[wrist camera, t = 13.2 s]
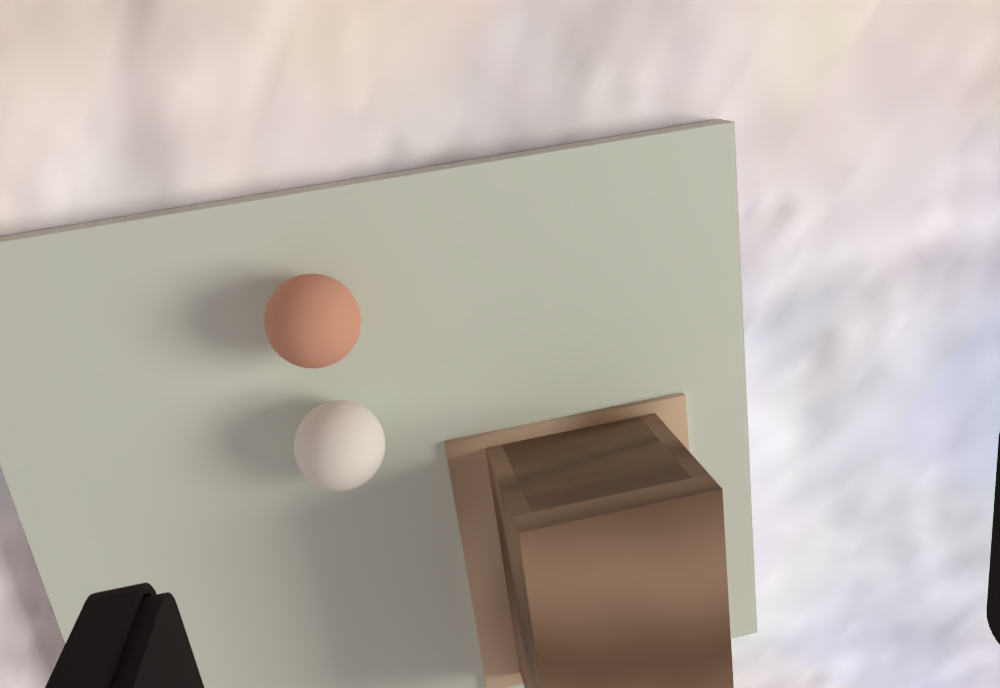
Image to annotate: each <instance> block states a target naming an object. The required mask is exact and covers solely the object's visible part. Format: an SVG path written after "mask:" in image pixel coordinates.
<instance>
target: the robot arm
mask: <svg viewBox="0 0 1000 688" xmlns="http://www.w3.org/2000/svg"><path fill="white" fill-rule="evenodd" d="M987 619H988V623H989V627H990V629H991V631H992V634H993V635H994V637H995V639H996V640H997V642H998V643H999V644H1000V433H999V444H998V458H997V472H996V486H995V500H994V514H993V528H992V542H991V556H990V570H989V584H988V598H987ZM45 688H204V685H203V682H202V679H201V676H200V673H199V670H198V667H197V664H196V660H195V657H194V654H193V651H192V648H191V645H190V642H189V639H188V636H187V633H186V630H185V627H184V624H183V621H182V618H181V615H180V612H179V609H178V606H177V603H176V601H175V598H174V597H173V595H172V594H171V593H169V592H166V593H161V594H156V591H155V590H154V588H153V587H152V586H151V584H149V583H147V582H146V583H141V584H136V585H131V586H126V587H121V588H116V589H111V590H106V591H101V592H96V593H93V594H91V595H89V597H88V598H87V599H86V601H85V603H84V605H83V607H82V609H81V612H80V614H79V616H78V618H77V620H76V622H75V625H74V627H73V629H72V631H71V633H70V635H69V638H68V640H67V642H66V644H65V646H64V648H63V651H62V653H61V655H60V657H59V659H58V661H57V664H56V666H55V668H54V670H53V672H52V674H51V676H50V679H49V681H48V683H47V685H46V687H45Z"/></svg>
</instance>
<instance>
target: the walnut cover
mask: <svg viewBox="0 0 1000 688" xmlns="http://www.w3.org/2000/svg"><path fill="white" fill-rule="evenodd" d="M485 449H486V455H487V462H488V468H489V475H490V481H491V488H492V494H493V501H494V507H495V514H496V520H497V527H498V533H499V539H500V546H501V552H502V559H503V565H504V572H505V578H506V585H507V591H508V598H509V604H510V611H511V617H512V623H513V630H514V636H515V643H516V649H517V656H518V662H519V669H520V674H521V677H522V681H523V684H524V687H525V688H733V670H732V652H731V634H730V616H729V598H728V580H727V562H726V543H725V525H724V507H723V489H722V488H721V487H720V486H719V484H718V483H717V482H716V481H715V480H714V479H713V478H712V477H711V475H710V474H709V473H708V472H707V471H706V470H705V469H704V468H703V466H702V465H701V464H700V463H699V462H698V461H697V460H696V459H695V457H694V456H693V455H692V454H691V453H690V452H689V451H688V450H687V448H686V447H685V446H684V445H683V444H682V443H681V442H680V440H679V439H678V438H677V437H676V436H675V435H674V434H673V433H672V431H671V430H670V429H669V428H668V427H667V426H666V425H665V424H664V422H663V421H662V420H661V419H660V418H659V417H658V416H657V415H656V413H654V414H649V415H644V416H639V417H634V418H629V419H625V420H620V421H615V422H610V423H605V424H600V425H595V426H590V427H585V428H580V429H576V430H571V431H566V432H561V433H556V434H551V435H546V436H541V437H536V438H531V439H526V440H522V441H517V442H512V443H507V444H502V445H497V446H492V447H487V448H485Z"/></svg>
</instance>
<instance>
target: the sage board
mask: <svg viewBox="0 0 1000 688" xmlns="http://www.w3.org/2000/svg"><path fill="white" fill-rule="evenodd" d="M303 274H322V275H326V276H329V277H332V278H334V279H336V280H337V281H339V282H341V283H342V284H343V285H345V286H346V287H347V288H348V289H349V290H350V292H351V293H352V294H353V296H354V298H355V299H356V301H357V304H358V306H359V310H360V315H361V327H360V333H359V336H358V339H357V341H356V343H355V345H354V346H353V348H352V349H351V351H350V352H349V353H348V354H347V355H346V356H345V357H344V358H342V359H341V360H340V361H338V362H336V363H334V364H332V365H329V366H326V367H322V368H303V367H299V366H296V365H294V364H291V363H289V362H287V361H286V360H284V359H283V358H282V357H281V356H279V355H278V354H277V353H276V351H275V350H274V349H273V347H272V346H271V344H270V343H269V340H268V338H267V336H266V332H265V327H264V315H265V309H266V306H267V303H268V301H269V299H270V297H271V296H272V294H273V293H274V291H275V290H276V289H277V288H278V287H279V286H280V285H281V284H283V283H284V282H285V281H287V280H289V279H291V278H293V277H296V276H298V275H303ZM682 392H683V393H684V394H685V396H686V410H687V424H688V439H689V452H690V453H691V454H692V455H693V456H694V457H695V459H696V460H697V461H698V462H699V463H700V464H701V465H702V466H703V468H704V469H705V470H706V471H707V472H708V473H709V474H710V475H711V477H712V478H713V479H714V480H715V481H716V482H717V483H718V484H719V486H720V487H721V488H722V489H723V507H724V525H725V543H726V562H727V580H728V598H729V616H730V634H731V638H735V637H739V636H744V635H748V634H752V633H756V632H757V619H756V597H755V574H754V552H753V529H752V507H751V484H750V462H749V440H748V417H747V395H746V372H745V350H744V327H743V305H742V282H741V260H740V238H739V215H738V193H737V170H736V148H735V125H734V122H733V121H727V120H722V119H717V120H711V121H705V122H699V123H693V124H686V125H680V126H674V127H668V128H662V129H656V130H650V131H644V132H637V133H631V134H625V135H619V136H613V137H607V138H601V139H595V140H588V141H582V142H576V143H570V144H564V145H558V146H552V147H546V148H539V149H533V150H527V151H521V152H515V153H509V154H503V155H497V156H490V157H484V158H478V159H472V160H466V161H460V162H454V163H448V164H441V165H435V166H429V167H423V168H417V169H411V170H405V171H399V172H392V173H386V174H380V175H374V176H368V177H362V178H356V179H350V180H343V181H337V182H331V183H325V184H319V185H313V186H307V187H301V188H294V189H288V190H282V191H276V192H270V193H264V194H258V195H252V196H245V197H239V198H233V199H227V200H221V201H215V202H209V203H203V204H196V205H190V206H184V207H178V208H172V209H166V210H160V211H154V212H147V213H141V214H135V215H129V216H123V217H117V218H111V219H105V220H98V221H92V222H86V223H80V224H74V225H68V226H62V227H56V228H49V229H43V230H37V231H31V232H25V233H19V234H13V235H7V236H0V466H1V469H2V472H3V475H4V477H5V480H6V483H7V486H8V488H9V491H10V494H11V497H12V499H13V502H14V505H15V508H16V510H17V513H18V516H19V519H20V521H21V524H22V527H23V530H24V532H25V535H26V538H27V541H28V543H29V546H30V549H31V551H32V554H33V557H34V560H35V562H36V565H37V568H38V571H39V573H40V576H41V579H42V582H43V584H44V587H45V590H46V593H47V595H48V598H49V601H50V604H51V606H52V609H53V612H54V615H55V617H56V620H57V623H58V626H59V628H60V631H61V634H62V637H63V639H64V642H65V644H66V642H67V640H68V638H69V635H70V633H71V631H72V629H73V627H74V625H75V622H76V620H77V618H78V616H79V614H80V612H81V609H82V607H83V605H84V603H85V601H86V599H87V598H88V597H89V595H91V594H93V593H96V592H101V591H106V590H111V589H116V588H121V587H126V586H131V585H136V584H141V583H146V582H147V583H149V584H151V586H152V587H153V588H154V590H155V591H156V594H161V593H166V592H169V593H171V594H172V595H173V597H174V598H175V601H176V603H177V606H178V609H179V612H180V615H181V618H182V621H183V624H184V627H185V630H186V633H187V636H188V639H189V642H190V645H191V648H192V651H193V654H194V657H195V660H196V664H197V667H198V670H199V673H200V676H201V679H202V682H203V685H204V688H487V686H486V680H485V675H484V669H483V663H482V657H481V651H480V646H479V640H478V634H477V628H476V623H475V617H474V611H473V605H472V600H471V594H470V588H469V582H468V576H467V571H466V565H465V559H464V553H463V548H462V542H461V536H460V530H459V524H458V519H457V513H456V507H455V501H454V496H453V490H452V484H451V478H450V472H449V467H448V461H447V455H446V449H445V444H444V441H445V440H450V439H455V438H460V437H465V436H470V435H475V434H480V433H485V432H490V431H495V430H500V429H504V428H509V427H514V426H519V425H524V424H529V423H534V422H539V421H544V420H549V419H554V418H559V417H564V416H569V415H573V414H578V413H583V412H588V411H593V410H598V409H603V408H608V407H613V406H618V405H623V404H628V403H633V402H638V401H642V400H647V399H652V398H657V397H662V396H667V395H672V394H677V393H682ZM336 400H345V401H351V402H355V403H357V404H360V405H362V406H363V407H365V408H367V409H368V410H369V411H370V412H372V413H373V414H374V416H375V417H376V418H377V419H378V421H379V423H380V424H381V426H382V429H383V432H384V436H385V454H384V458H383V461H382V463H381V465H380V467H379V469H378V470H377V472H376V473H375V474H374V475H373V477H372V478H371V479H369V480H368V481H367V482H366V483H364V484H362V485H361V486H359V487H356V488H354V489H350V490H345V491H332V490H327V489H324V488H321V487H319V486H317V485H315V484H314V483H312V482H311V481H310V480H309V479H307V477H306V476H305V475H304V474H303V473H302V471H301V470H300V468H299V466H298V464H297V462H296V458H295V454H294V439H295V435H296V431H297V429H298V427H299V425H300V423H301V422H302V420H303V419H304V417H305V416H306V415H307V414H308V413H309V412H310V411H311V410H313V409H314V408H316V407H318V406H319V405H321V404H324V403H326V402H330V401H336ZM507 688H525V687H524V684H519V685H515V686H511V687H507Z"/></svg>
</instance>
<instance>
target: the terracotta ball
mask: <svg viewBox="0 0 1000 688" xmlns="http://www.w3.org/2000/svg"><path fill="white" fill-rule="evenodd" d="M264 327H265V332H266V336H267V338H268V340H269V343H270V344H271V346H272V347H273V349H274V350H275V351H276V353H277V354H278V355H279V356H281V357H282V358H283V359H284V360H286V361H287V362H289V363H291V364H294V365H296V366H299V367H303V368H322V367H326V366H329V365H332V364H334V363H336V362H338V361H340V360H341V359H342V358H344V357H345V356H346V355H347V354H348V353H349V352H350V351H351V349H352V348H353V346H354V345H355V343H356V341H357V339H358V336H359V333H360V327H361V315H360V310H359V306H358V304H357V301H356V299H355V298H354V296H353V294H352V293H351V292H350V290H349V289H348V288H347V287H346V286H345V285H343V284H342V283H341V282H339V281H337V280H336V279H334V278H332V277H329V276H326V275H322V274H303V275H298V276H296V277H293V278H291V279H289V280H287V281H285V282H284V283H283V284H281V285H280V286H279V287H278V288H277V289H276V290H275V291H274V293H273V294H272V296H271V297H270V299H269V301H268V303H267V306H266V309H265V315H264Z"/></svg>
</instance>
